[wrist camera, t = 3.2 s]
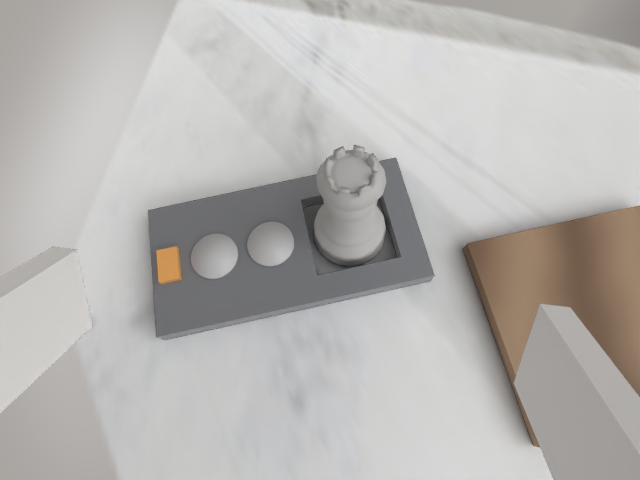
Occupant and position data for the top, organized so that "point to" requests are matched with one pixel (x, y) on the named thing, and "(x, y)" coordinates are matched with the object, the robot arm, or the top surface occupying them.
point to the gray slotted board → (266, 256)
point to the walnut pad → (564, 285)
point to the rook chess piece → (350, 207)
